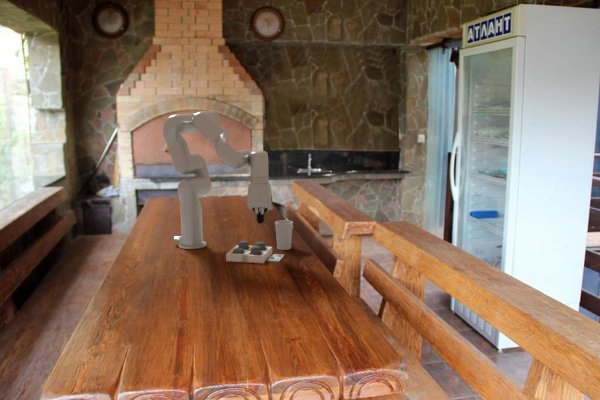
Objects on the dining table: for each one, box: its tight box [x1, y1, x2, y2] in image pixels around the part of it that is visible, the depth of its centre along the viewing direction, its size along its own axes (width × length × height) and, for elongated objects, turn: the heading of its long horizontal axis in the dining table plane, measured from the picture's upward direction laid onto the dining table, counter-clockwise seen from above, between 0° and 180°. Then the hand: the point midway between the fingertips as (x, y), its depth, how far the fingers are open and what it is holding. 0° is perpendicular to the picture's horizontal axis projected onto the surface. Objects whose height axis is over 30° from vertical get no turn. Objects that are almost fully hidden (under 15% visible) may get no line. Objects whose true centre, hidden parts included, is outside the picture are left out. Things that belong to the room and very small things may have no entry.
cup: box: [274, 219, 294, 251], centre depth 257 cm, size 8×8×12 cm
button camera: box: [251, 245, 261, 255], centre depth 239 cm, size 4×4×4 cm
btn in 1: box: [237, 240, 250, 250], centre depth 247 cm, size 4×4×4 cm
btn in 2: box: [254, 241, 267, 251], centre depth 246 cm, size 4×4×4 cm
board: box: [225, 244, 273, 264], centre depth 244 cm, size 16×15×3 cm
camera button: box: [232, 248, 244, 254], centre depth 241 cm, size 4×4×4 cm
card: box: [267, 253, 285, 263], centre depth 241 cm, size 5×9×1 cm, turn 169°
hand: (260, 222), depth 244 cm, fingers closed
